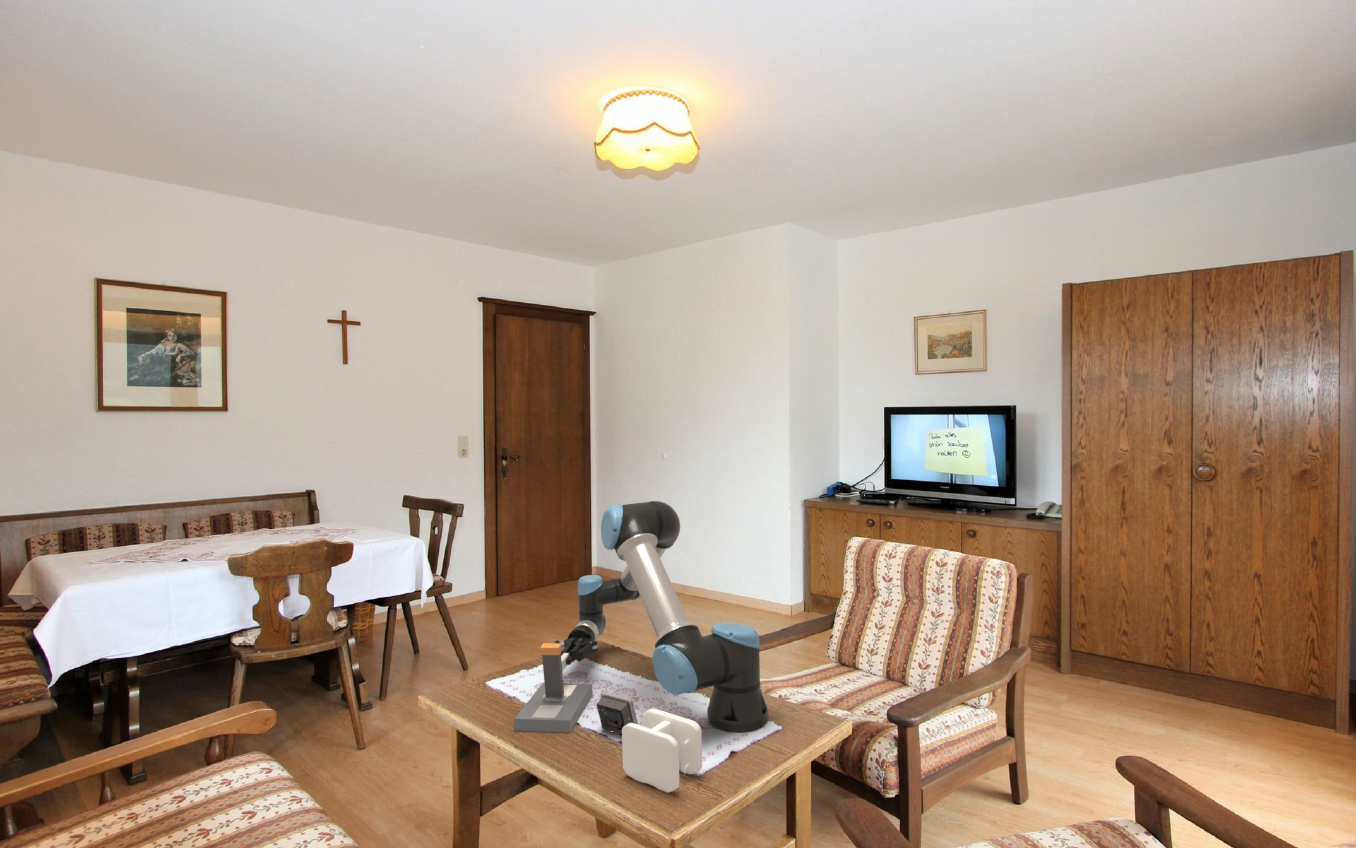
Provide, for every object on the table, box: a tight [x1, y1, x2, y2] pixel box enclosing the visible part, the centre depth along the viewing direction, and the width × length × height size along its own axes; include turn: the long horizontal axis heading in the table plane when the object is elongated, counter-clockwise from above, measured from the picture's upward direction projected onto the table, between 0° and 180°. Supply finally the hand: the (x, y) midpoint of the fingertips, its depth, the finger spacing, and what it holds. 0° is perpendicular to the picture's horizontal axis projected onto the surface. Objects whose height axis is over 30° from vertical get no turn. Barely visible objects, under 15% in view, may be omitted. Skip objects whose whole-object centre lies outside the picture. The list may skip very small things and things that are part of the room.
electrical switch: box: [595, 691, 639, 735], centre depth 170 cm, size 9×5×9 cm, turn 57°
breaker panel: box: [513, 682, 594, 734], centre depth 182 cm, size 22×14×4 cm, turn 173°
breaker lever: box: [539, 642, 564, 698], centre depth 181 cm, size 2×5×14 cm, turn 83°
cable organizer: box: [621, 708, 703, 794], centre depth 149 cm, size 15×11×12 cm
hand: (559, 666), depth 187 cm, fingers closed
